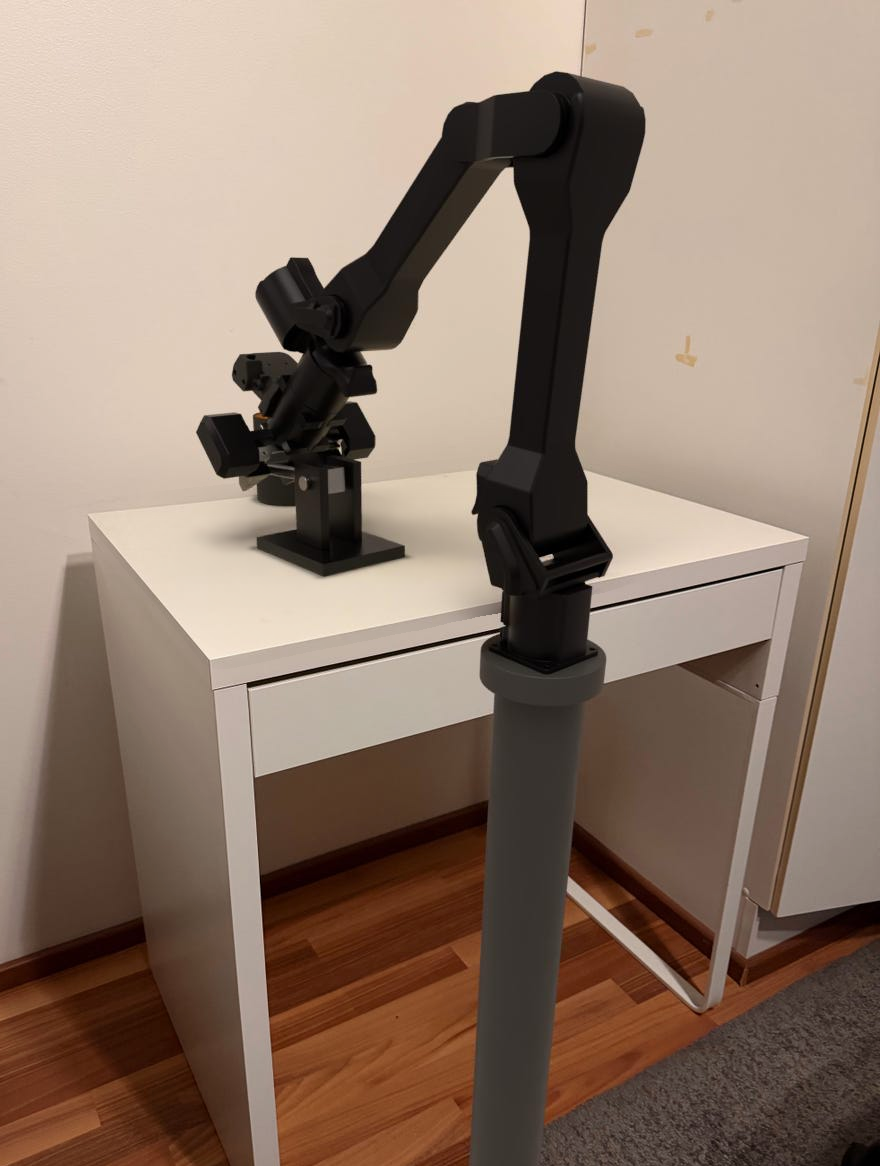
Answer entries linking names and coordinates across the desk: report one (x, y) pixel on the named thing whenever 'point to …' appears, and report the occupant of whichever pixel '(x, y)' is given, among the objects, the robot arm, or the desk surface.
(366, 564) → the black stand
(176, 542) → the desk surface
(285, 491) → the mug
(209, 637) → the desk surface
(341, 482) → the tap lever
